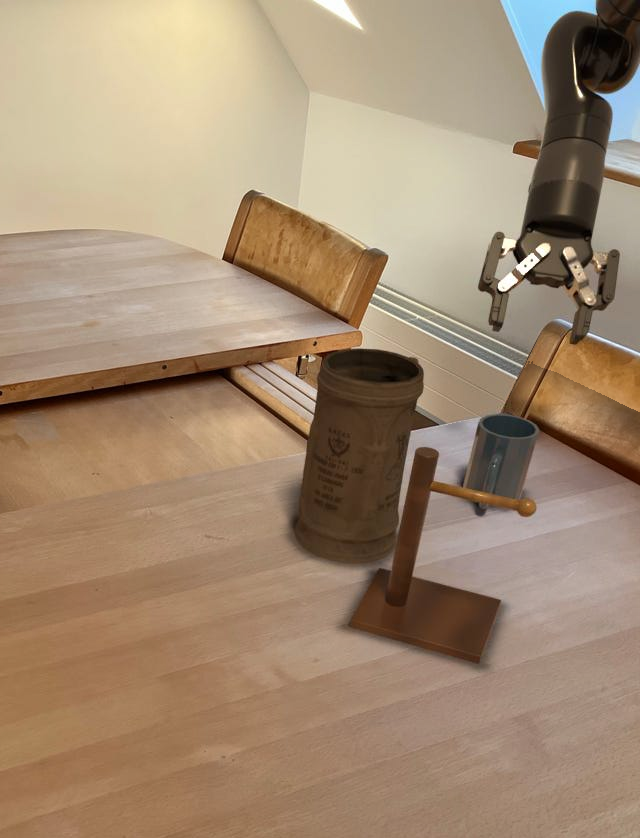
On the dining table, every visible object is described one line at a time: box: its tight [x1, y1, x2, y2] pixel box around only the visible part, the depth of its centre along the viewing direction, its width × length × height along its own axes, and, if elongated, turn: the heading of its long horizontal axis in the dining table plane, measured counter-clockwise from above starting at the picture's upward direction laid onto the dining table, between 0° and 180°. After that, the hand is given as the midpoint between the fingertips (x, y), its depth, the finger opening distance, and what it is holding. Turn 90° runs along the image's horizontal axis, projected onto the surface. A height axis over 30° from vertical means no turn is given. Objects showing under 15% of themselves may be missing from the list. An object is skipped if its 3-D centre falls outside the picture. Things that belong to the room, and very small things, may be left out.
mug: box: [462, 413, 540, 510], centre depth 108 cm, size 10×6×9 cm, turn 154°
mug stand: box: [348, 446, 537, 665], centre depth 87 cm, size 13×10×17 cm
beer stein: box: [293, 347, 425, 565], centre depth 99 cm, size 15×11×20 cm
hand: (536, 335), depth 108 cm, fingers open, 8 cm apart
